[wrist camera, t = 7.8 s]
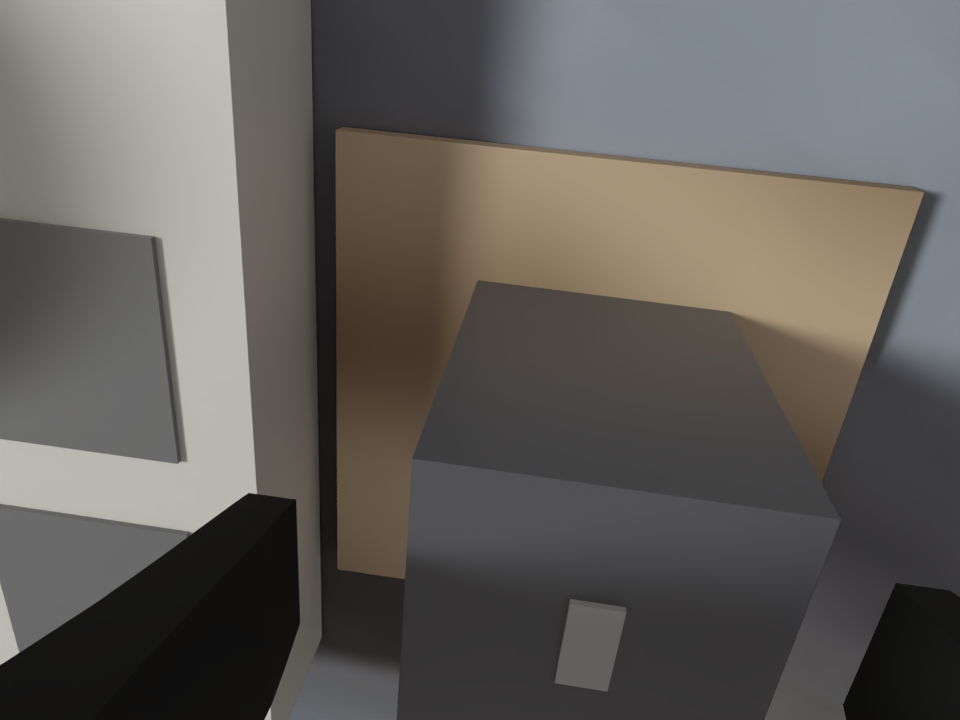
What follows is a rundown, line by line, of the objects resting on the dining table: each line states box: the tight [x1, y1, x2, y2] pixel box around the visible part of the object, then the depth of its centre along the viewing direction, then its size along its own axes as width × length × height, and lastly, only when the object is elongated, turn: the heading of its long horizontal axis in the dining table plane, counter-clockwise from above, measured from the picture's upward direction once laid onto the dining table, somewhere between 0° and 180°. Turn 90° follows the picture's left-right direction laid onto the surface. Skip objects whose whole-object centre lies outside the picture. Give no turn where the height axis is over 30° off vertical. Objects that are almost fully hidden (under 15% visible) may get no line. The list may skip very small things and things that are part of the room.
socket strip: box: [0, 0, 322, 720], centre depth 11 cm, size 20×6×4 cm, turn 175°
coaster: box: [335, 127, 924, 579], centre depth 13 cm, size 9×9×1 cm
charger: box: [397, 280, 841, 720], centre depth 10 cm, size 4×4×6 cm
